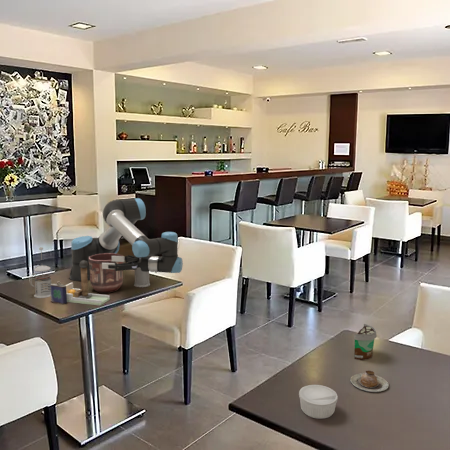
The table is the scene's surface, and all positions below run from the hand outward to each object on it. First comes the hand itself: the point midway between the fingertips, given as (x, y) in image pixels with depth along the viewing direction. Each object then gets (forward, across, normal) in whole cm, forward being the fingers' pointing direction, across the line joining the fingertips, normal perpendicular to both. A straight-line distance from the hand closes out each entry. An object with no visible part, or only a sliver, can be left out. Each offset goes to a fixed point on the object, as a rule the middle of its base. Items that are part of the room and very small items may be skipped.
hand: (107, 262), depth 234 cm
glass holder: (-10, +32, -20) cm, 39 cm away
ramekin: (-94, -88, -18) cm, 130 cm away
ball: (+19, +2, -17) cm, 26 cm away
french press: (+37, +6, -21) cm, 42 cm away
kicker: (+13, 0, -19) cm, 23 cm away
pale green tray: (+12, 0, -20) cm, 23 cm away
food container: (-115, -49, -18) cm, 127 cm away
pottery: (+7, +19, -21) cm, 29 cm away
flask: (+23, -4, -20) cm, 31 cm away
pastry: (-112, -70, -18) cm, 134 cm away
